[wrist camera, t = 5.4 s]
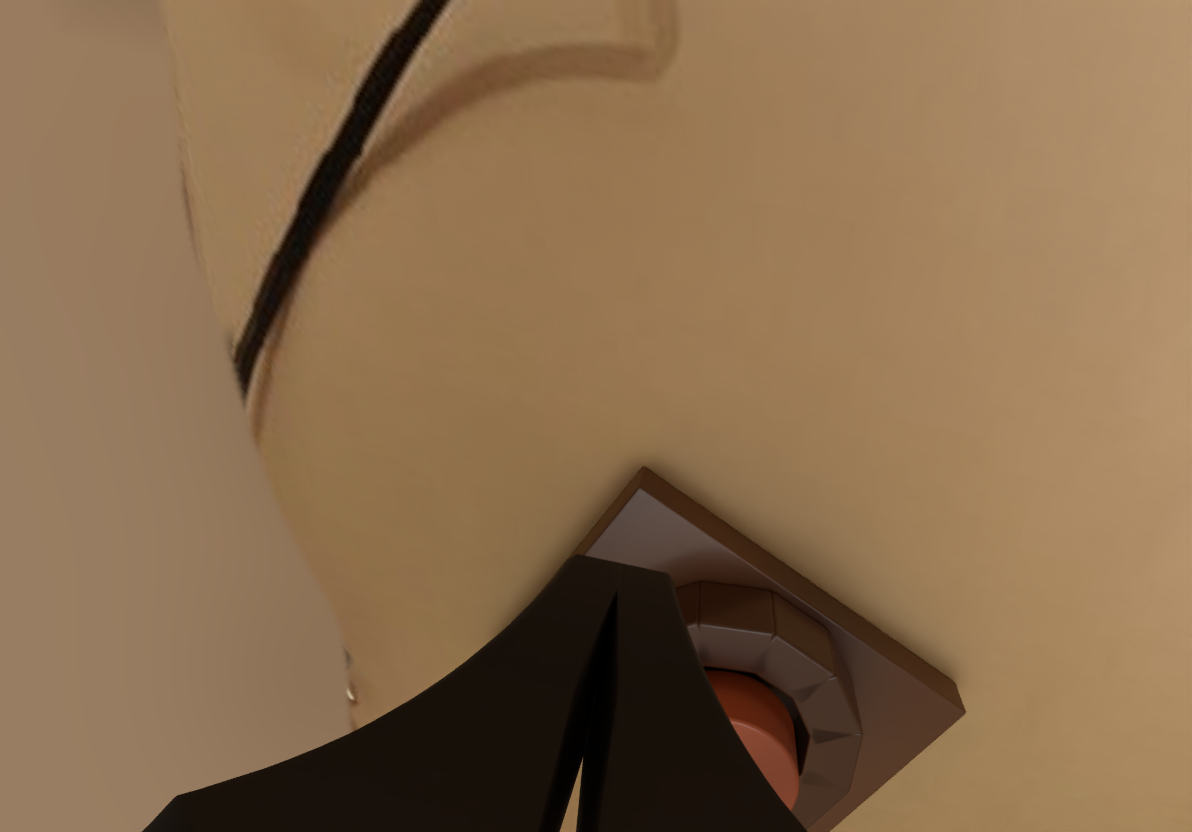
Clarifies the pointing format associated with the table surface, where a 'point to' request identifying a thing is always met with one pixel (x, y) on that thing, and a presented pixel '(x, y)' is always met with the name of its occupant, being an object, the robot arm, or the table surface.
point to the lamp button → (761, 729)
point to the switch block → (785, 647)
